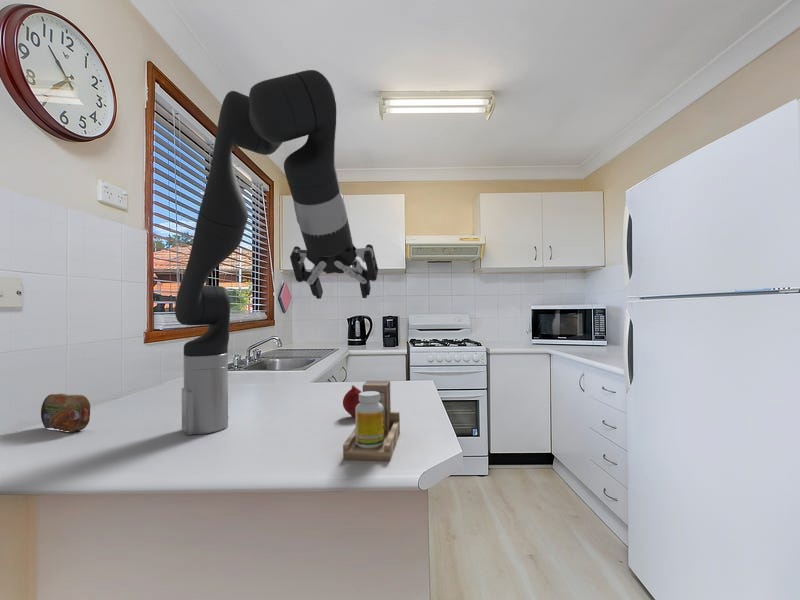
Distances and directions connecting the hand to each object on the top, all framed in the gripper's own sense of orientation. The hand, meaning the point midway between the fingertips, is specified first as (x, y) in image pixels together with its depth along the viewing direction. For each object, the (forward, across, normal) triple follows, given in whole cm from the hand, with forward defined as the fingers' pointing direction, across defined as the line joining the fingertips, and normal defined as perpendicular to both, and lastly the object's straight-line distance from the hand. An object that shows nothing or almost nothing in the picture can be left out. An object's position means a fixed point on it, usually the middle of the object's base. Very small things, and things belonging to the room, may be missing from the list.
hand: (342, 295), depth 72 cm
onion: (+40, +4, +2) cm, 41 cm away
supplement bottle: (+22, -4, +18) cm, 29 cm away
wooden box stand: (+26, -4, +16) cm, 31 cm away
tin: (+31, +70, +13) cm, 78 cm away
